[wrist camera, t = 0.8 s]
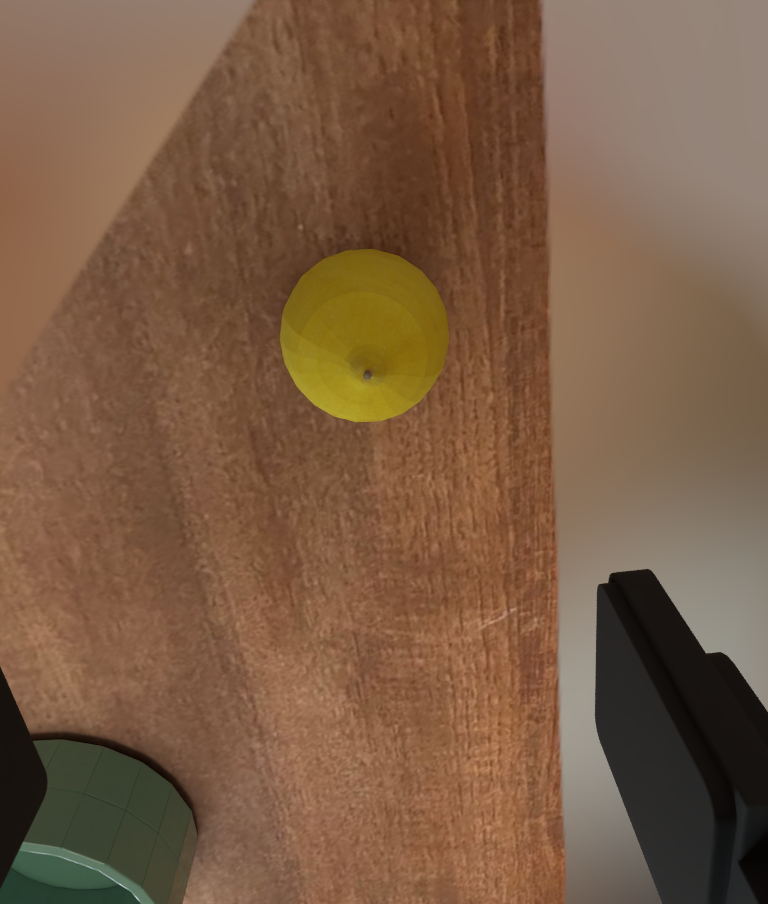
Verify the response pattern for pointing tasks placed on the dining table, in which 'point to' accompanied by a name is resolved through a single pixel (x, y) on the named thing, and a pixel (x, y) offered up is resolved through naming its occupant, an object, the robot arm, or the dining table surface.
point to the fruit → (364, 335)
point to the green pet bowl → (103, 833)
